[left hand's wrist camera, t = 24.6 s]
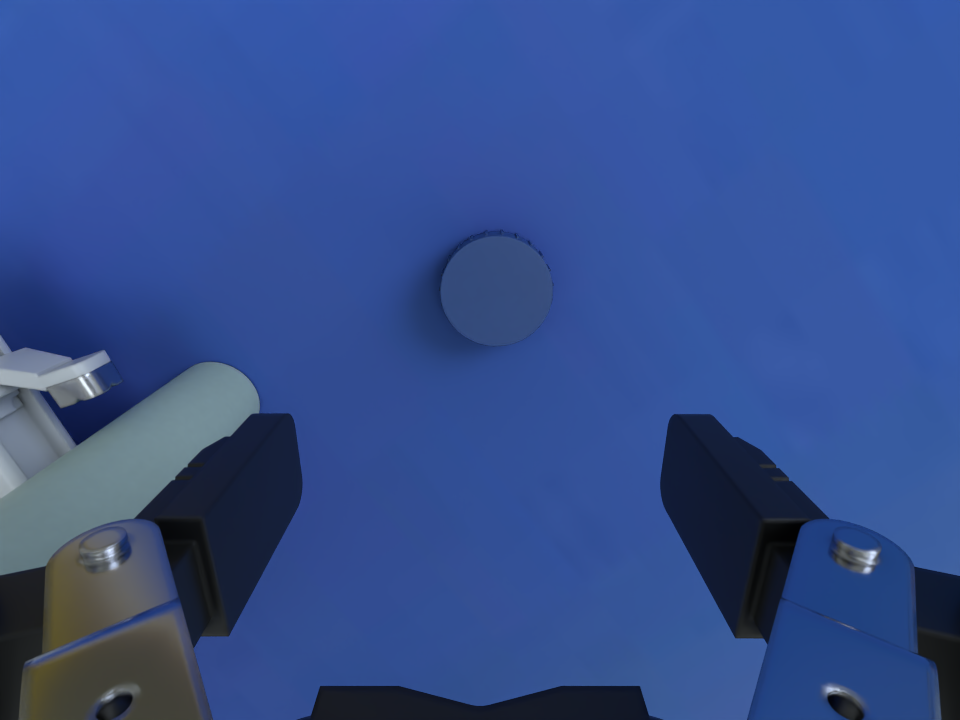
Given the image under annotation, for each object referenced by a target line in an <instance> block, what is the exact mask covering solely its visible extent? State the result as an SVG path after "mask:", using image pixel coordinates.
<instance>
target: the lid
mask: <svg viewBox="0 0 960 720" xmlns="http://www.w3.org/2000/svg"><path fill="white" fill-rule="evenodd" d="M447 261H448V263H447V265H446V268H445V269H443V271H442V274H441V276H442V280H441V285H440V288H439V291H440V296H441V305H442V307H443V310H444V312H445V315H446V317H447V319H448V320H449V322H450V323H451V325H452V326H453V327H454V328H455V329H456V330H457V331H458V332H459V333H460V334H461V335H463V336H464V337H466V338H467V339H469V340H471V341H473V342H476V343H479V344H482V345H487V346H505V345H510V344H514V343H516V342H519V341H521V340H523V339H525V338H527V337H528V336H529V335H531V334H532V333H533V332H534V331H536V330H537V329H538V328H539V326H540V325H541V324H542V323H543V321H544V320H545V318H546V316H547V314H548V312H549V310H550V306H551V303H552V297H553V286H554V285H553V282H552V278H551V275H550V272H549V271H551V270H550V268H549V266H548V265H547V264H546V263H545V262H544V260H543V255H542V253H541V252H540V251H539V252H538V251H537V249H536V248H535V247H534V246H533V245H532V243H531V241H526V240H525V239H523V238H521V237H520V236H518V234H517V233H515V234H512V233H508V232H503V230H501V231H491V232H488V231H487V230H486V231H485V233H481V234H478V235H476V236H473V235H472V236H471V237H470V239H468V240H466V241H465V242H464V243H462V244H459V245H458V247H457V249H456V250H455V251H454V253H453V254H452V256H451V255H450V256H449V257H448V260H447Z"/></svg>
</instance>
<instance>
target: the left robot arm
mask: <svg viewBox="0 0 960 720" xmlns="http://www.w3.org/2000/svg"><path fill="white" fill-rule="evenodd" d="M660 489H661V497H662V501H663V505H664V507H665V510H666V511H667V513H668V515H669V517H670V519H671V521H672V522H673V524H674V526H675V528H676V530H677V532H678V533H679V535H680V537H681V539H682V541H683V543H684V545H685V546H686V548H687V550H688V552H689V554H690V556H691V557H692V559H693V561H694V563H695V565H696V567H697V568H698V570H699V572H700V574H701V576H702V578H703V579H704V581H705V583H706V585H707V587H708V589H709V591H710V592H711V594H712V596H713V598H714V600H715V602H716V603H717V605H718V607H719V609H720V611H721V613H722V614H723V616H724V618H725V620H726V622H727V624H728V625H729V627H730V629H731V631H732V633H733V635H734V636H735V638H764V639H765V641H766V643H767V644H768V645H767V649H766V653H765V656H764V660H763V664H762V667H761V671H760V675H759V678H758V682H757V685H756V689H755V693H754V696H753V700H752V704H751V707H750V711H749V714H748V718H747V720H960V576H957V575H952V574H947V573H942V572H937V571H932V570H927V569H922V568H918V567H914V565H913V563H912V561H911V559H910V558H909V556H908V555H907V554H906V553H905V552H904V551H903V550H902V549H901V548H900V547H899V546H897V545H896V544H895V543H893V542H892V541H890V540H889V539H887V538H886V537H884V536H882V535H880V534H878V533H877V532H874V531H872V530H870V529H868V528H865V527H862V526H860V525H857V524H853V523H850V522H846V521H841V520H834V519H829V518H828V517H827V516H826V515H825V514H824V513H823V512H822V511H821V510H820V509H819V508H818V507H817V506H816V505H815V504H814V503H813V502H812V501H811V500H810V499H809V498H808V497H807V496H806V495H805V494H804V493H803V492H802V491H801V490H800V489H799V488H798V487H797V486H796V485H795V484H794V483H793V482H792V481H789V478H788V477H787V476H786V475H785V474H784V473H783V472H782V471H781V470H780V469H779V468H776V465H775V464H774V463H773V462H772V461H771V460H770V459H769V458H768V457H767V456H766V455H765V454H764V453H763V452H762V451H761V450H760V449H758V448H756V447H755V446H753V445H751V444H749V443H747V442H746V441H744V440H742V439H740V438H739V437H732V436H731V434H730V433H729V432H728V431H727V430H726V429H725V428H724V427H723V426H722V425H721V424H720V423H719V422H718V421H717V420H716V419H715V417H714V416H712V415H710V414H674V415H673V416H672V417H671V418H670V420H669V424H668V430H667V437H666V444H665V451H664V458H663V465H662V472H661V480H660ZM301 494H302V473H301V466H300V458H299V451H298V444H297V437H296V430H295V424H294V420H293V418H292V416H291V415H290V414H268V413H267V414H266V413H265V414H264V413H258V414H257V413H255V414H251V415H250V416H249V417H248V418H247V419H246V420H245V421H244V422H243V423H242V424H241V425H240V426H239V428H238V429H237V430H236V431H235V432H234V433H233V434H232V435H231V436H225V437H223V438H221V439H220V440H218V441H216V442H214V443H213V444H211V445H209V446H207V447H205V448H204V449H202V450H201V451H200V452H199V453H198V454H197V455H196V456H195V457H194V458H193V459H192V460H191V461H190V462H189V463H188V467H184V468H183V469H182V470H181V471H180V472H179V473H178V474H177V475H176V476H175V480H172V481H171V482H170V483H169V484H168V485H167V486H166V487H165V488H164V489H163V490H162V491H161V492H160V493H159V494H158V495H157V496H156V497H155V498H154V499H153V500H152V501H151V502H150V503H149V504H148V505H147V506H146V507H145V508H144V509H143V510H142V511H141V512H140V513H139V514H138V515H137V516H136V517H135V518H134V519H126V520H119V521H114V522H110V523H107V524H103V525H100V526H98V527H95V528H92V529H90V530H88V531H86V532H83V533H82V534H80V535H78V536H76V537H74V538H73V539H71V540H70V541H68V542H67V543H65V544H64V545H63V546H61V547H60V548H59V549H58V550H57V551H56V552H55V553H54V554H53V555H52V556H51V558H50V559H49V561H48V563H47V565H46V566H43V567H39V568H34V569H29V570H24V571H19V572H14V573H9V574H4V575H0V720H213V718H212V714H211V711H210V707H209V704H208V700H207V696H206V693H205V689H204V685H203V682H202V678H201V675H200V671H199V667H198V664H197V660H196V656H195V653H194V649H193V648H194V647H195V645H196V643H197V642H198V640H199V638H200V637H201V636H229V635H230V633H231V631H232V629H233V627H234V625H235V624H236V622H237V620H238V618H239V616H240V614H241V612H242V611H243V609H244V607H245V605H246V603H247V601H248V599H249V598H250V596H251V594H252V592H253V590H254V588H255V586H256V585H257V583H258V581H259V579H260V577H261V575H262V573H263V571H264V570H265V568H266V566H267V564H268V562H269V560H270V558H271V557H272V555H273V553H274V551H275V549H276V547H277V545H278V544H279V542H280V540H281V538H282V536H283V534H284V532H285V531H286V529H287V527H288V525H289V523H290V521H291V519H292V517H293V516H294V514H295V512H296V510H297V508H298V506H299V503H300V499H301ZM298 720H662V719H660V718H656V717H652V716H649V714H648V711H647V708H646V705H645V701H644V698H643V695H642V692H641V689H640V686H560V687H556V688H552V689H548V690H545V691H541V692H537V693H533V694H529V695H525V696H522V697H518V698H514V699H510V700H506V701H503V702H499V703H495V704H491V705H487V706H473V705H469V704H465V703H461V702H457V701H454V700H450V699H446V698H442V697H438V696H434V695H431V694H427V693H423V692H419V691H415V690H412V689H408V688H404V687H400V686H320V689H319V692H318V695H317V698H316V701H315V705H314V708H313V711H312V714H311V716H308V717H304V718H300V719H298Z"/></svg>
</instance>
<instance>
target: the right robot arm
mask: <svg viewBox="0 0 960 720" xmlns="http://www.w3.org/2000/svg"><path fill="white" fill-rule="evenodd" d="M121 382H123V379H122V377H121V376H120V374H119V372H118V371H117V369H116V367H115V366H114V364H113V362H112V361H111V360H110V358H109V356H108V355H107V353H106V352H105V350H101V351H98V352H95V353H92V354H89V355H86V356H83V357H81V358H78V359H75V360H72V359H71V358H70V357H66V356H61V355H57V354H53V353H48V352H44V351H39V350H35V349H30V348H26V347H25V348H22V349H20V350H17V351H14V352H12V351H11V349H10V348H9V347H8V345H7V344H6V342H5V341H4V339H3V338H2V336H1V335H0V499H1V498H2V497H4V496H5V495H7V494H8V493H10V492H11V491H13V490H14V489H15V488H17V487H18V486H20V485H21V484H23V483H24V482H25V481H27V480H28V479H30V478H31V477H33V476H34V475H36V474H37V473H38V472H40V471H41V470H43V469H44V468H46V467H47V466H49V465H50V464H51V463H53V462H54V461H56V460H57V459H59V458H60V457H62V456H63V455H64V454H66V453H67V452H69V451H70V450H72V449H73V448H75V447H76V446H77V445H76V443H75V442H74V441H73V439H72V438H71V436H70V435H69V433H68V432H67V430H66V429H65V428H64V426H63V425H62V423H61V422H60V420H59V419H58V417H57V416H56V415H55V413H54V412H53V410H52V409H51V407H50V406H49V404H48V403H47V402H46V400H45V399H44V397H43V396H42V394H41V393H40V391H39V390H41V391H48V392H49V393H50V394H51V396H52V397H53V398H54V400H55V401H56V402H57V404H58V405H59V407H60V408H64V407H67V406H70V405H73V404H76V403H77V402H79V401H81V400H84V401H85V400H88V399H91V398H94V397H96V396H99V395H101V394H103V393H105V392H106V391H108V390H110V389H111V387H113V386H116V385H118V384H120V383H121Z"/></svg>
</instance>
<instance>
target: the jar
mask: <svg viewBox="0 0 960 720" xmlns="http://www.w3.org/2000/svg"><path fill="white" fill-rule="evenodd" d="M259 410H260V402H259V397H258V394H257V391H256V389H255V387H254V385H253V384H252V383H251V381H250V380H249V379H248V378H247V377H246V376H245V375H244V374H243V373H241V372H240V371H239V370H237V369H235V368H233V367H231V366H229V365H226V364H223V363H218V362H204V363H199V364H196V365H194V366H192V367H190V368H189V369H187V370H186V371H184V372H183V373H181V374H180V375H178V376H177V377H176V378H174V379H173V380H171V381H170V382H168V383H167V384H165V385H164V386H163V387H161V388H160V389H158V390H157V391H155V392H154V393H153V394H151V395H150V396H148V397H147V398H145V399H144V400H142V401H141V402H140V403H138V404H137V405H135V406H134V407H132V408H131V409H129V410H128V411H127V412H125V413H124V414H122V415H121V416H119V417H118V418H116V419H115V420H114V421H112V422H111V423H109V424H108V425H106V426H105V427H103V428H102V429H101V430H99V431H98V432H96V433H95V434H93V435H92V436H90V437H89V438H88V439H86V440H85V441H83V442H82V443H80V444H79V445H77V446H76V447H75V448H73V449H72V450H70V451H69V452H67V453H66V454H64V455H63V456H62V457H60V458H59V459H57V460H56V461H54V462H53V463H51V464H50V465H49V466H47V467H46V468H44V469H43V470H41V471H40V472H38V473H37V474H36V475H34V476H33V477H31V478H30V479H28V480H27V481H25V482H24V483H23V484H21V485H20V486H18V487H17V488H15V489H14V490H13V491H11V492H10V493H8V494H7V495H5V496H4V497H2V498H1V499H0V575H4V574H9V573H14V572H19V571H24V570H29V569H34V568H39V567H43V566H46V565H47V563H48V561H49V559H50V558H51V556H52V555H53V554H54V553H55V552H56V551H57V550H58V549H59V548H60V547H61V546H63V545H64V544H65V543H67V542H68V541H70V540H71V539H73V538H74V537H76V536H78V535H80V534H82V533H83V532H86V531H88V530H90V529H92V528H95V527H98V526H100V525H103V524H107V523H110V522H114V521H119V520H126V519H134V518H135V517H136V516H137V515H138V514H139V513H140V512H141V511H142V510H143V509H144V508H145V507H146V506H147V505H148V504H149V503H150V502H151V501H152V500H153V499H154V498H155V497H156V496H157V495H158V494H159V493H160V492H161V491H162V490H163V489H164V488H165V487H166V486H167V485H168V484H169V483H170V482H171V481H172V480H175V476H176V475H177V474H178V473H179V472H180V471H181V470H182V469H183V468H184V467H188V463H189V462H190V461H191V460H192V459H193V458H194V457H195V456H196V455H197V454H198V453H199V452H200V451H201V450H202V449H204V448H205V447H207V446H209V445H211V444H213V443H214V442H216V441H218V440H220V439H221V438H223V437H225V436H231V435H232V434H233V433H234V432H235V431H236V430H237V429H238V428H239V426H240V425H241V424H242V423H243V422H244V421H245V420H246V419H247V418H248V417H249V416H250V415H251V414H255V413H257V414H258V413H259Z"/></svg>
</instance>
